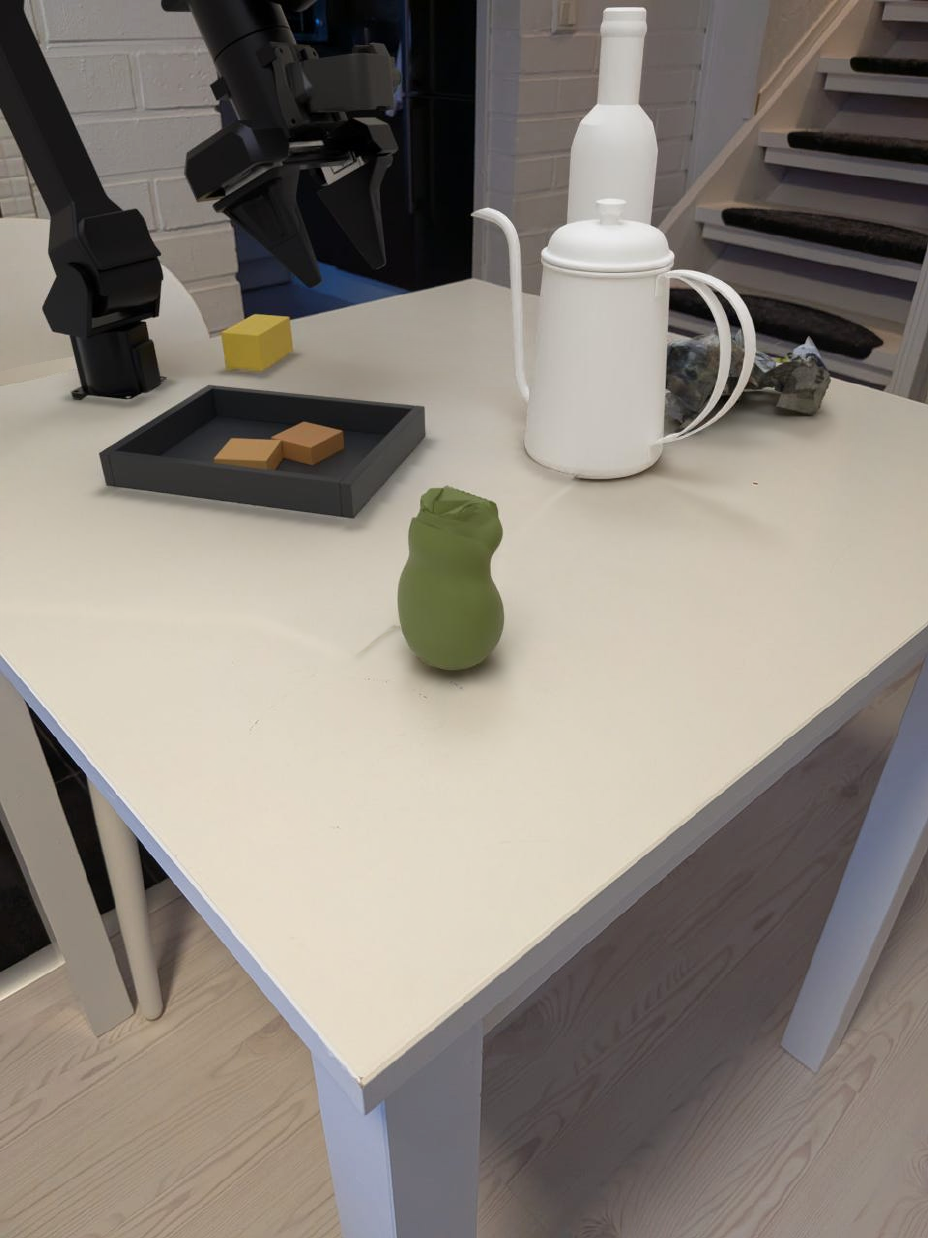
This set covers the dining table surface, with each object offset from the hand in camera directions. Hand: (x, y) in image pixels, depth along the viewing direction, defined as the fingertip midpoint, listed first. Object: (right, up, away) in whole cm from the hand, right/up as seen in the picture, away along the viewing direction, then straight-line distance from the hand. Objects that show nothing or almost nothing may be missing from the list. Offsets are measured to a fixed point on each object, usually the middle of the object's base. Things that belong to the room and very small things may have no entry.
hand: (349, 275), depth 67 cm
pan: (-6, -13, +5) cm, 15 cm away
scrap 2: (-4, -12, +6) cm, 14 cm away
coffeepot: (+18, -12, +7) cm, 23 cm away
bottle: (+22, 0, +26) cm, 34 cm away
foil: (+32, -7, +14) cm, 36 cm away
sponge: (-12, +1, +26) cm, 29 cm away
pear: (+8, -27, -17) cm, 33 cm away
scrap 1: (-8, -13, +3) cm, 16 cm away
